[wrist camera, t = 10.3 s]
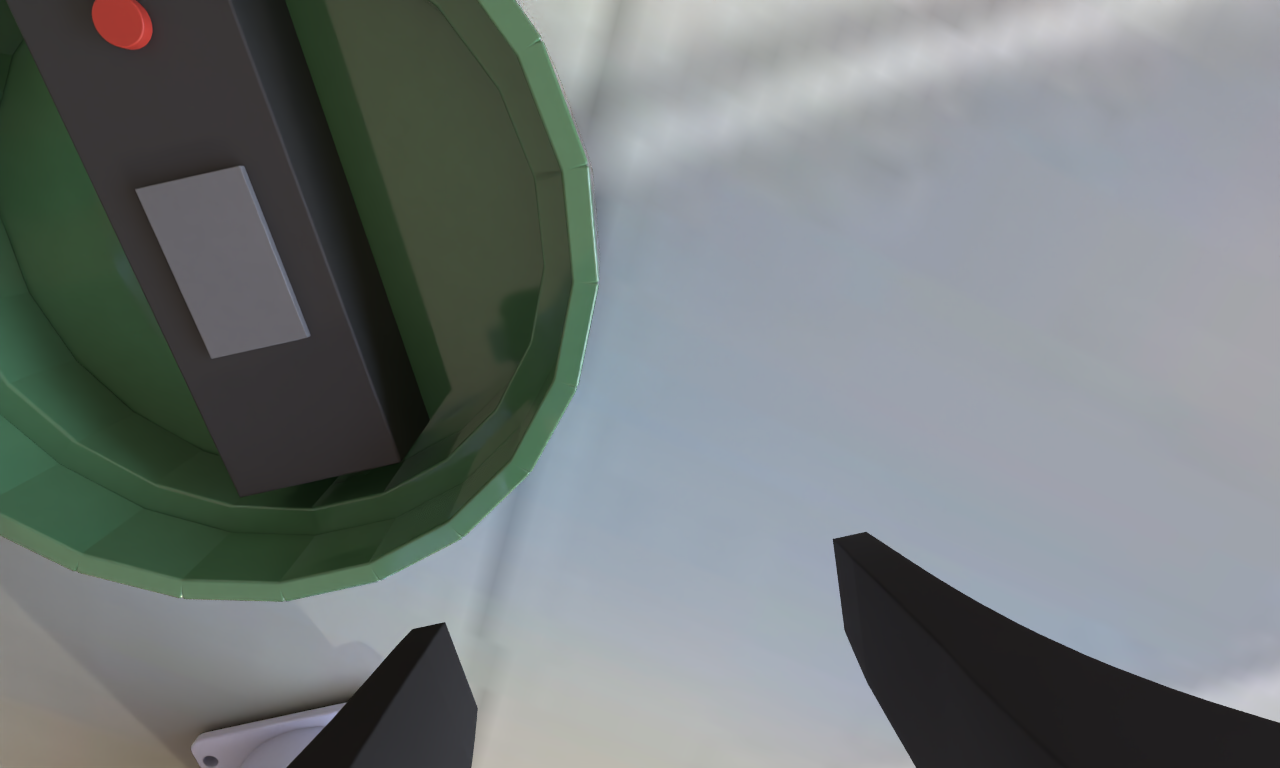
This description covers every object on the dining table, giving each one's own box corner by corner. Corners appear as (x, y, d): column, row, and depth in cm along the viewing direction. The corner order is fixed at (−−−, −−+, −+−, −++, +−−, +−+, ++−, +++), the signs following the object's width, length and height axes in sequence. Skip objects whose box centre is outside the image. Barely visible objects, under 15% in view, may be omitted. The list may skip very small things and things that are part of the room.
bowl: (653, 440, 21) (668, 520, 16) (137, 552, 21) (0, 664, 16) (508, -207, 15) (466, -381, 10) (-191, -45, 15) (-547, -143, 11)
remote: (430, 420, 19) (398, 468, 16) (292, 451, 19) (232, 504, 16) (270, -45, 15) (186, -100, 12) (96, -5, 15) (-32, -49, 12)
